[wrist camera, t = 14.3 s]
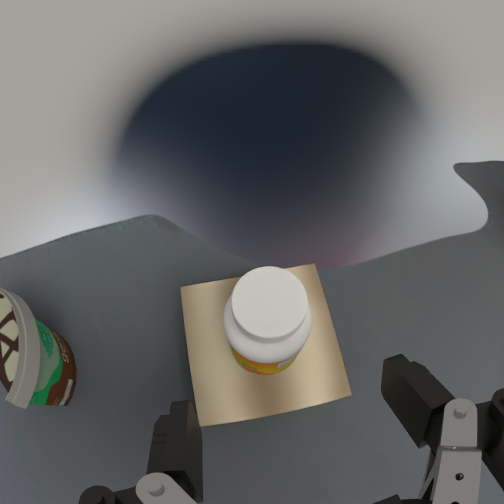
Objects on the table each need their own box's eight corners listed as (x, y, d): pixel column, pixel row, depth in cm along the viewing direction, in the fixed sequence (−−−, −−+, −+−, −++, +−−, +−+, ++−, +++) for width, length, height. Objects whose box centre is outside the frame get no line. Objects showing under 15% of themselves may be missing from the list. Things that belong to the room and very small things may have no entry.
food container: (109, 371, 26) (50, 345, 17) (76, 416, 23) (8, 405, 15) (43, 299, 30) (-11, 255, 21) (14, 337, 27) (-45, 304, 18)
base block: (309, 277, 31) (314, 263, 28) (342, 397, 25) (351, 395, 22) (187, 299, 30) (180, 287, 27) (205, 425, 24) (199, 426, 21)
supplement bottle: (217, 339, 25) (195, 293, 16) (268, 299, 26) (273, 236, 18) (261, 390, 23) (263, 373, 14) (312, 346, 24) (342, 304, 16)
